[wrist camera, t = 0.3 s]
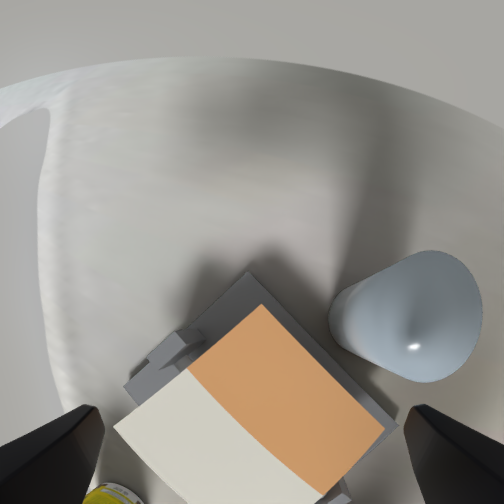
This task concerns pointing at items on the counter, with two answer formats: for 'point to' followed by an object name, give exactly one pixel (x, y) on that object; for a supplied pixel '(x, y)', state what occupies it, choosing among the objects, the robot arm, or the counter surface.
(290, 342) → the two-tone square pad
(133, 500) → the supplement bottle
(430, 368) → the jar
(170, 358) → the switch base
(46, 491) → the robot arm
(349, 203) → the counter surface
